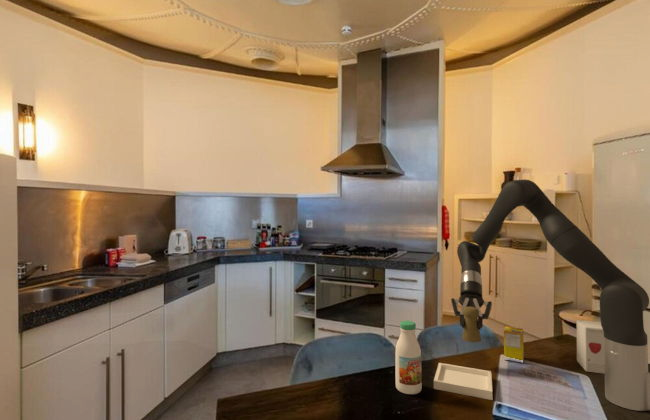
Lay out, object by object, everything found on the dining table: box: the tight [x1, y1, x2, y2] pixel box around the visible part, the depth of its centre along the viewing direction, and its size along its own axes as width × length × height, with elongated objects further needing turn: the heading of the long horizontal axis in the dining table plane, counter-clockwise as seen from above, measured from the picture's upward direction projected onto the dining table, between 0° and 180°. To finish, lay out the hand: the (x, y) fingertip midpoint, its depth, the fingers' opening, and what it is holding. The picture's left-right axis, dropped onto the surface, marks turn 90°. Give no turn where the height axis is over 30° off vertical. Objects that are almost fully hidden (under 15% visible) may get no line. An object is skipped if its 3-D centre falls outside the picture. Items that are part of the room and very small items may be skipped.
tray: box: [433, 362, 493, 401], centre depth 106 cm, size 16×14×2 cm
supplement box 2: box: [576, 319, 605, 375], centre depth 116 cm, size 9×9×15 cm
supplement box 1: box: [503, 326, 525, 361], centre depth 124 cm, size 6×6×11 cm
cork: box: [461, 307, 482, 343], centre depth 118 cm, size 6×6×11 cm
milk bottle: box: [394, 320, 423, 395], centre depth 104 cm, size 8×8×20 cm
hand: (471, 327), depth 117 cm, fingers closed on cork, 4 cm apart
